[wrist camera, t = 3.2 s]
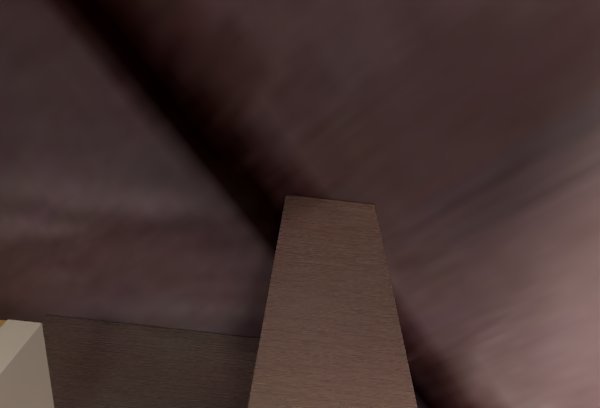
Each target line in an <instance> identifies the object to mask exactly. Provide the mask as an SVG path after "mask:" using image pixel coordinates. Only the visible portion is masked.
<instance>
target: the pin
mask: <svg viewBox="0 0 600 408" xmlns="http://www.w3.org/2000/svg"><path fill="white" fill-rule="evenodd" d="M248 408H417V404H416V399H415V394H414V389H413V385H412V380H411V375H410V370H409V366H408V361H407V356H406V352H405V347H404V342H403V337H402V333H401V328H400V323H399V318H398V314H397V309H396V304H395V299H394V295H393V290H392V285H391V281H390V276H389V271H388V266H387V262H386V257H385V252H384V247H383V243H382V238H381V233H380V229H379V224H378V219H377V214H376V210H375V205H374V204H366V203H357V202H348V201H338V200H329V199H320V198H311V197H302V196H293V195H286V197H285V203H284V208H283V214H282V219H281V225H280V230H279V236H278V242H277V247H276V253H275V258H274V264H273V270H272V275H271V281H270V286H269V292H268V297H267V303H266V309H265V314H264V320H263V325H262V331H261V336H260V342H259V348H258V353H257V359H256V364H255V370H254V376H253V381H252V387H251V392H250V398H249V403H248Z"/></svg>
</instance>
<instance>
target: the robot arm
mask: <svg viewBox="0 0 600 408" xmlns="http://www.w3.org/2000/svg"><path fill="white" fill-rule="evenodd" d="M0 408H54V402H53V395H52V389H51V382H50V375H49V368H48V362H47V355H46V348H45V341H44V335H43V328H42V323H37V322H28V321H18V320H9V319H8V320H7V321H6V322H5V323H4V324H3V325H2V326H1V327H0Z"/></svg>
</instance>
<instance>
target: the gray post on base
mask: <svg viewBox="0 0 600 408" xmlns="http://www.w3.org/2000/svg"><path fill="white" fill-rule="evenodd" d="M41 323H42V328H43V335H44V341H45V348H46V355H47V362H48V368H49V375H50V382H51V389H52V395H53V402H54V408H248V403H249V398H250V392H251V387H252V381H253V376H254V370H255V364H256V359H257V353H258V348H259V342H260V338H252V337H242V336H233V335H224V334H215V333H206V332H197V331H188V330H178V329H169V328H160V327H151V326H142V325H133V324H123V323H114V322H105V321H96V320H87V319H78V318H68V317H59V316H50V315H47V316H46V317H45V318H44V319H43V320H42V322H41Z"/></svg>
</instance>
